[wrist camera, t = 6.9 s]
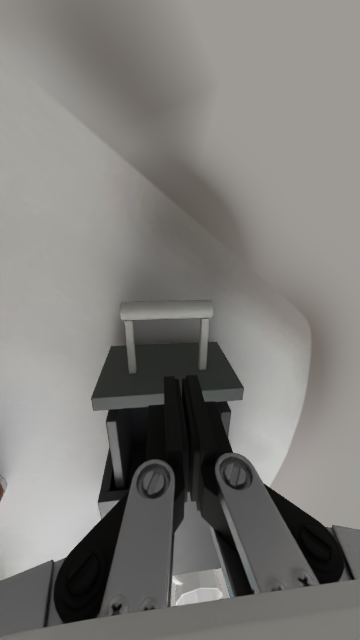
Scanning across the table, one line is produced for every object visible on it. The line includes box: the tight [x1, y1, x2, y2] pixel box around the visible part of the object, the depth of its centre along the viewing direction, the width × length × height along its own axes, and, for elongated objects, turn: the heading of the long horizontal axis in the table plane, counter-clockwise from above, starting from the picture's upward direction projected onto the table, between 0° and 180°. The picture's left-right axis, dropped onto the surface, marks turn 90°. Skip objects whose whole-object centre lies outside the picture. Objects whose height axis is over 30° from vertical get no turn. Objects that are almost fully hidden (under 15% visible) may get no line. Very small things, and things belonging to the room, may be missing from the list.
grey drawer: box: [91, 300, 244, 491], centre depth 21 cm, size 20×11×8 cm, turn 179°
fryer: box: [98, 447, 221, 576], centre depth 26 cm, size 15×13×10 cm
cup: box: [172, 569, 224, 606], centre depth 34 cm, size 7×10×8 cm
